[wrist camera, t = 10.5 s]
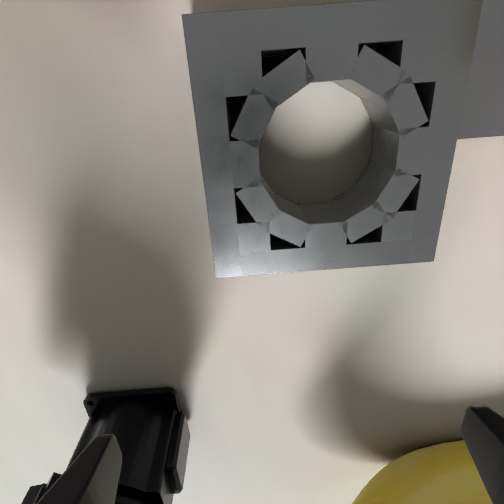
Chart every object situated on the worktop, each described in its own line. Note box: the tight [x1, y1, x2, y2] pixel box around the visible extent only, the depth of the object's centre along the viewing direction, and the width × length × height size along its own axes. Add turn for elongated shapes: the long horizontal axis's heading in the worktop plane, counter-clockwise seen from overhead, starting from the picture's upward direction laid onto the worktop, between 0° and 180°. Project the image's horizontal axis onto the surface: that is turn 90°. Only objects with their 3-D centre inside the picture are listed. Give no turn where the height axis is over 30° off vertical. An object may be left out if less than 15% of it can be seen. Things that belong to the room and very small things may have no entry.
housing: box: [182, 0, 483, 278], centre depth 16 cm, size 11×11×3 cm
